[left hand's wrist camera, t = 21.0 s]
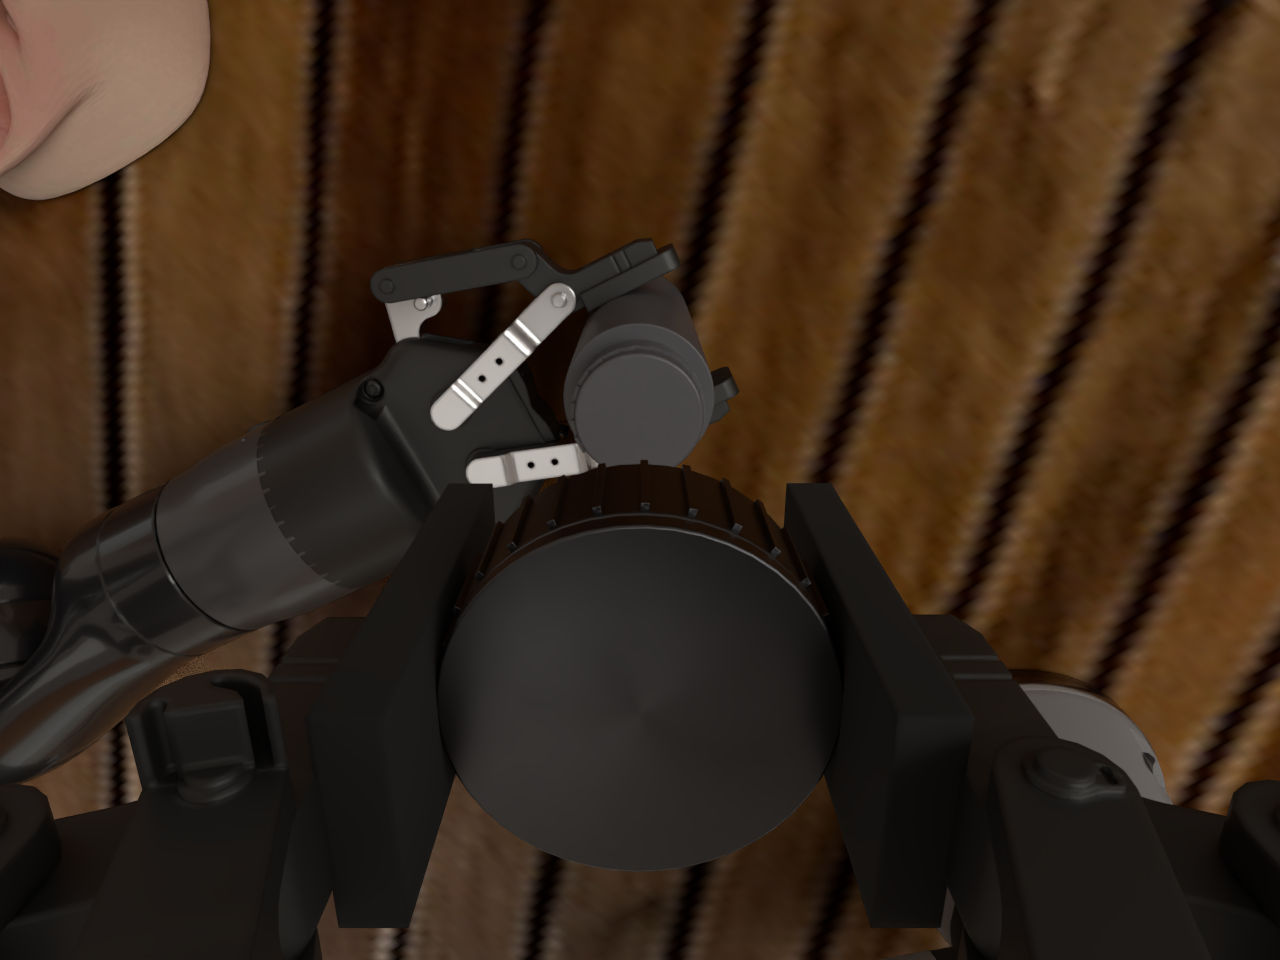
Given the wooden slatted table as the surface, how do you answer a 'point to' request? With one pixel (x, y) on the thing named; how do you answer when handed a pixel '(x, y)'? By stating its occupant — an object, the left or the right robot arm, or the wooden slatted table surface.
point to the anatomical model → (93, 86)
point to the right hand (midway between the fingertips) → (703, 318)
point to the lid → (639, 671)
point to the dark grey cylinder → (639, 380)
